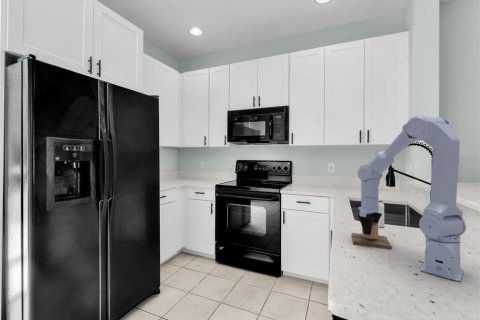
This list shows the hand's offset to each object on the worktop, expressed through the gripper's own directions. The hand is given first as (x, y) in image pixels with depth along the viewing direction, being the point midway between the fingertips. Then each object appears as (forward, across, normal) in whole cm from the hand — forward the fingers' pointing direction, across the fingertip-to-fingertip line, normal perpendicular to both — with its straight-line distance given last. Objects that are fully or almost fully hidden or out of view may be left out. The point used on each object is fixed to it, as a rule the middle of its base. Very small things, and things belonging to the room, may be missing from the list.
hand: (369, 232), depth 87 cm
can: (+4, -26, -6) cm, 27 cm away
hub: (+2, 0, 0) cm, 2 cm away
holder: (+3, 0, 0) cm, 3 cm away
